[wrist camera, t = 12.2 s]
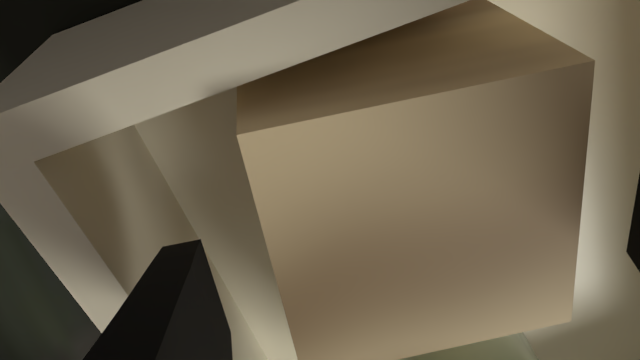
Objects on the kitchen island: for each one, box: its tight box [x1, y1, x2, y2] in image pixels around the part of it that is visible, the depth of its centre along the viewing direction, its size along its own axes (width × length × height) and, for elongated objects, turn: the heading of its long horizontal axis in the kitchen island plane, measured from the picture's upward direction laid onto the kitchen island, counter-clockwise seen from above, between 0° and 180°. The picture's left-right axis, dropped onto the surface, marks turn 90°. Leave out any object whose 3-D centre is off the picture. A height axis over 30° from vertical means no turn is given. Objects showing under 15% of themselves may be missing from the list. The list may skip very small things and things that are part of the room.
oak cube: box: [236, 0, 595, 360], centre depth 11 cm, size 5×5×5 cm
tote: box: [0, 0, 640, 360], centre depth 14 cm, size 18×14×5 cm
